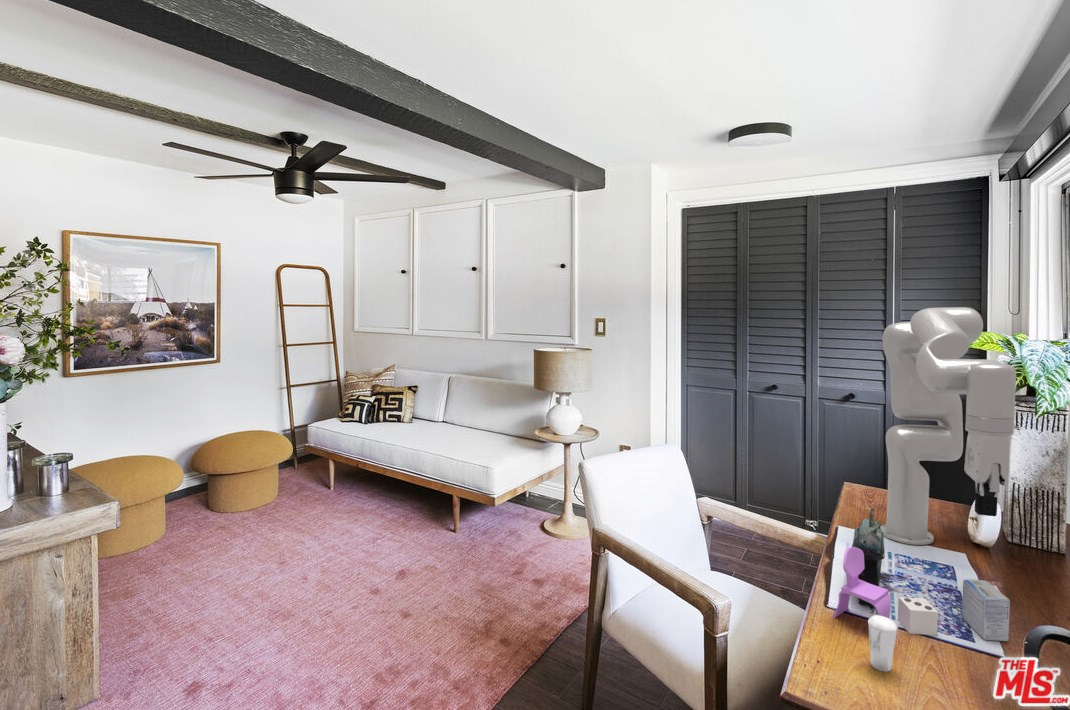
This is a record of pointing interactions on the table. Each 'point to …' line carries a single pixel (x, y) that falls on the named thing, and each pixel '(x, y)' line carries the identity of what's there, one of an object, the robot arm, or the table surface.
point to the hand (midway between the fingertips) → (985, 514)
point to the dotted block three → (917, 616)
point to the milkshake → (882, 642)
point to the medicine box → (986, 610)
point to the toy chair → (861, 585)
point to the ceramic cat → (870, 551)
